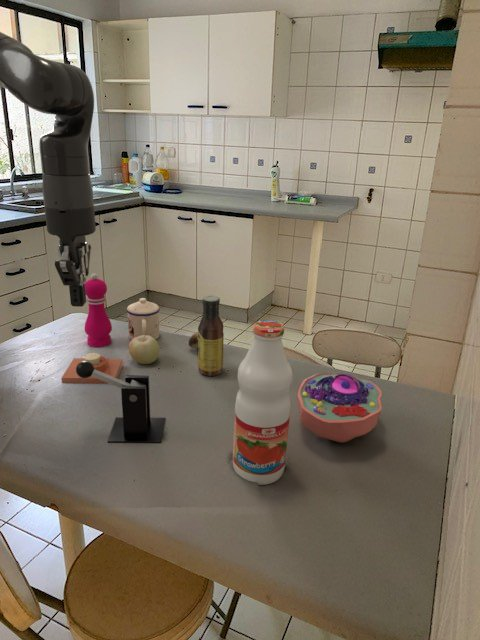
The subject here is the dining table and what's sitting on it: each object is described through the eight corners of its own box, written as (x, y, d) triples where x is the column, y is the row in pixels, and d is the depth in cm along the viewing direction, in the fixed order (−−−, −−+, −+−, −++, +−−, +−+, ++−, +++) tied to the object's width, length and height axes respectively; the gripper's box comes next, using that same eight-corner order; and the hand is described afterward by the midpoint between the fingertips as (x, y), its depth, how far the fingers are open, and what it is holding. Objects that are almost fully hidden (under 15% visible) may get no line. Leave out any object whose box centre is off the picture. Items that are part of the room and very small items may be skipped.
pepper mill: (80, 343, 128) (73, 273, 121) (101, 335, 134) (96, 268, 126) (97, 350, 124) (91, 279, 117) (118, 341, 130) (114, 273, 122)
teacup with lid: (128, 331, 137) (126, 294, 133) (159, 329, 139) (158, 293, 134) (127, 348, 126) (125, 308, 122) (161, 347, 128) (160, 307, 124)
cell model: (274, 435, 93) (278, 386, 88) (321, 395, 108) (327, 352, 103) (352, 472, 83) (361, 419, 79) (392, 423, 98) (401, 376, 94)
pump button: (83, 366, 108) (82, 359, 108) (86, 359, 112) (86, 352, 111) (98, 366, 109) (98, 359, 108) (102, 359, 112) (101, 352, 111)
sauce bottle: (204, 363, 120) (205, 291, 112) (226, 368, 118) (229, 295, 110) (193, 374, 114) (193, 299, 107) (216, 380, 112) (218, 303, 105)
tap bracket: (107, 446, 87) (103, 392, 83) (116, 422, 95) (112, 371, 90) (161, 447, 88) (159, 393, 83) (165, 422, 95) (164, 371, 91)
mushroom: (213, 349, 120) (209, 326, 122) (186, 356, 123) (182, 334, 124) (224, 352, 128) (220, 330, 129) (198, 358, 130) (194, 337, 131)
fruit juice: (279, 451, 88) (292, 314, 78) (288, 486, 80) (304, 337, 69) (230, 452, 87) (236, 314, 77) (234, 487, 79) (241, 337, 68)
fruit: (159, 354, 124) (159, 327, 121) (159, 367, 117) (158, 339, 114) (130, 355, 123) (129, 327, 120) (128, 368, 116) (126, 339, 113)
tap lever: (71, 377, 84) (77, 363, 83) (76, 369, 87) (82, 355, 86) (138, 404, 87) (144, 390, 86) (140, 395, 90) (147, 382, 89)
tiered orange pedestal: (62, 386, 107) (60, 371, 105) (74, 366, 116) (72, 351, 114) (114, 386, 107) (113, 371, 106) (122, 366, 117) (122, 352, 115)
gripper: (58, 196, 80) (68, 292, 86) (29, 208, 68) (43, 318, 74) (102, 198, 80) (108, 293, 87) (82, 210, 68) (91, 319, 75)
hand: (78, 304), depth 80 cm, fingers closed
